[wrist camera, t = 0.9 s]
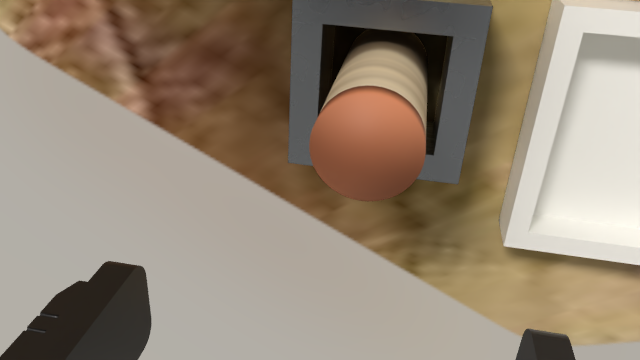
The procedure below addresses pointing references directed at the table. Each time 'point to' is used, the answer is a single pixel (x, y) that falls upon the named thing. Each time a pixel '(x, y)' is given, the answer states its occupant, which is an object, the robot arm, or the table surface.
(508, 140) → the table surface
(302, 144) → the socket block
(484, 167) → the table surface
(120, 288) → the robot arm
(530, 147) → the tray
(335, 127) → the pin
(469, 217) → the table surface
